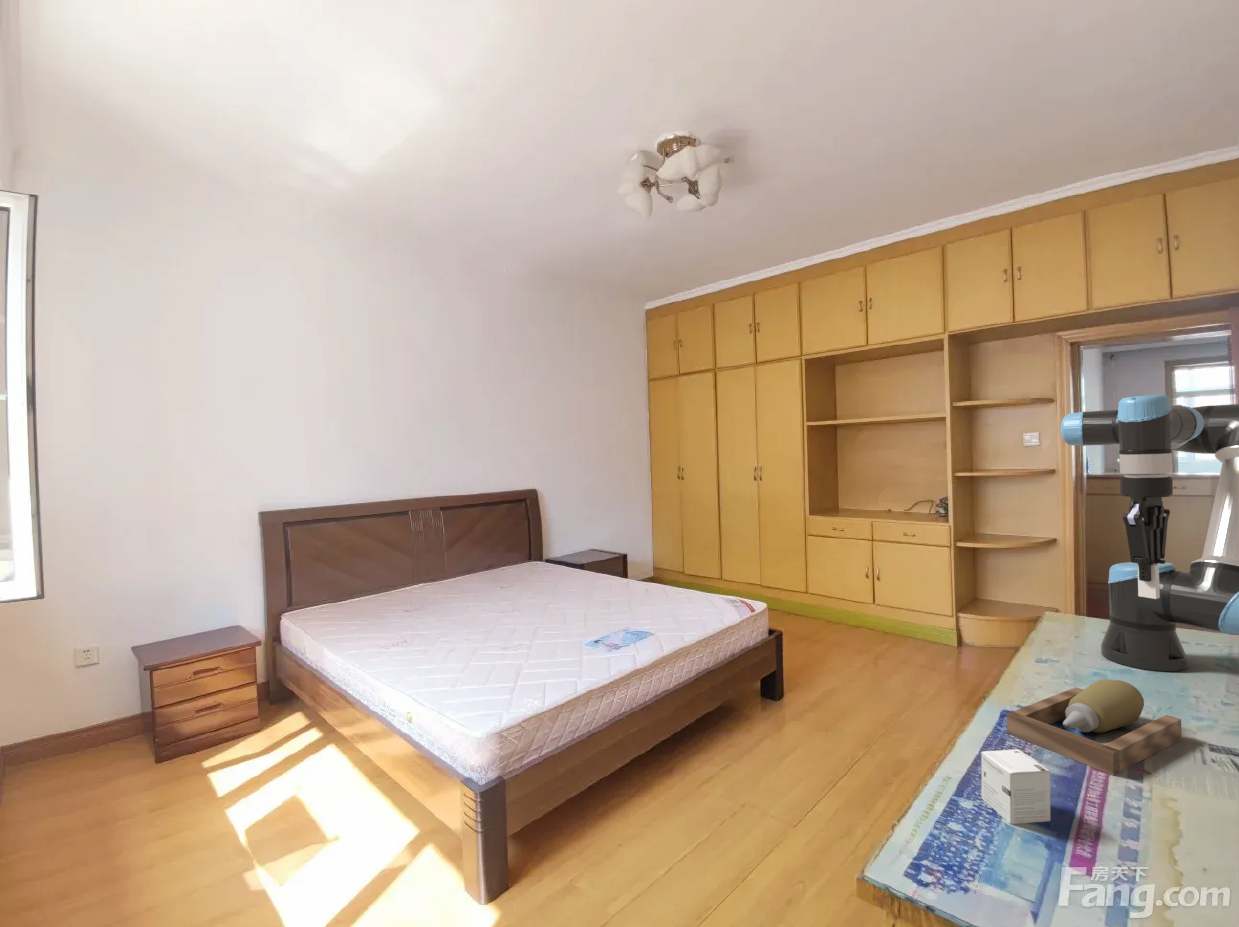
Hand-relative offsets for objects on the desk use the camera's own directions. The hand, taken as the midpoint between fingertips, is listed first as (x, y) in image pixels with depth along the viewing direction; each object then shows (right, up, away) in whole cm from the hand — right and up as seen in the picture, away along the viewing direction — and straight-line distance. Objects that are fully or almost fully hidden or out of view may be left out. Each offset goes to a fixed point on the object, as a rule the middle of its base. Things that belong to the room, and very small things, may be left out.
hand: (1148, 596), depth 112 cm
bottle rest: (-18, -23, -9) cm, 30 cm away
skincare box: (-46, -24, -29) cm, 59 cm away
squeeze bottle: (-7, -18, -3) cm, 20 cm away
